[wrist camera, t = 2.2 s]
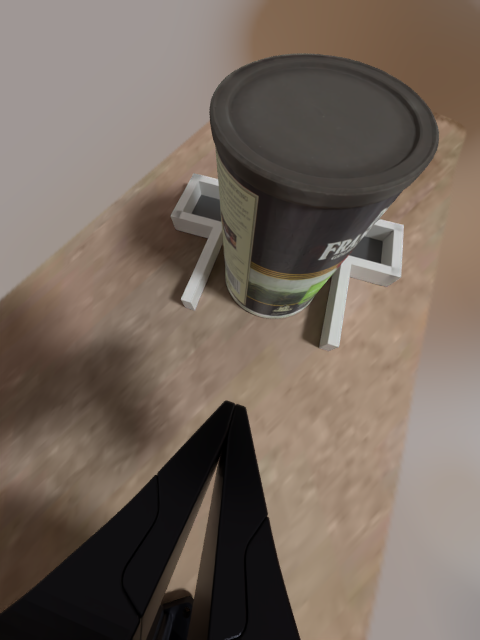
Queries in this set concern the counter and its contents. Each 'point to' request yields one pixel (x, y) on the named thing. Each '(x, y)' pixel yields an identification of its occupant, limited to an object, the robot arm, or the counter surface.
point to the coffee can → (309, 169)
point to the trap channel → (362, 263)
